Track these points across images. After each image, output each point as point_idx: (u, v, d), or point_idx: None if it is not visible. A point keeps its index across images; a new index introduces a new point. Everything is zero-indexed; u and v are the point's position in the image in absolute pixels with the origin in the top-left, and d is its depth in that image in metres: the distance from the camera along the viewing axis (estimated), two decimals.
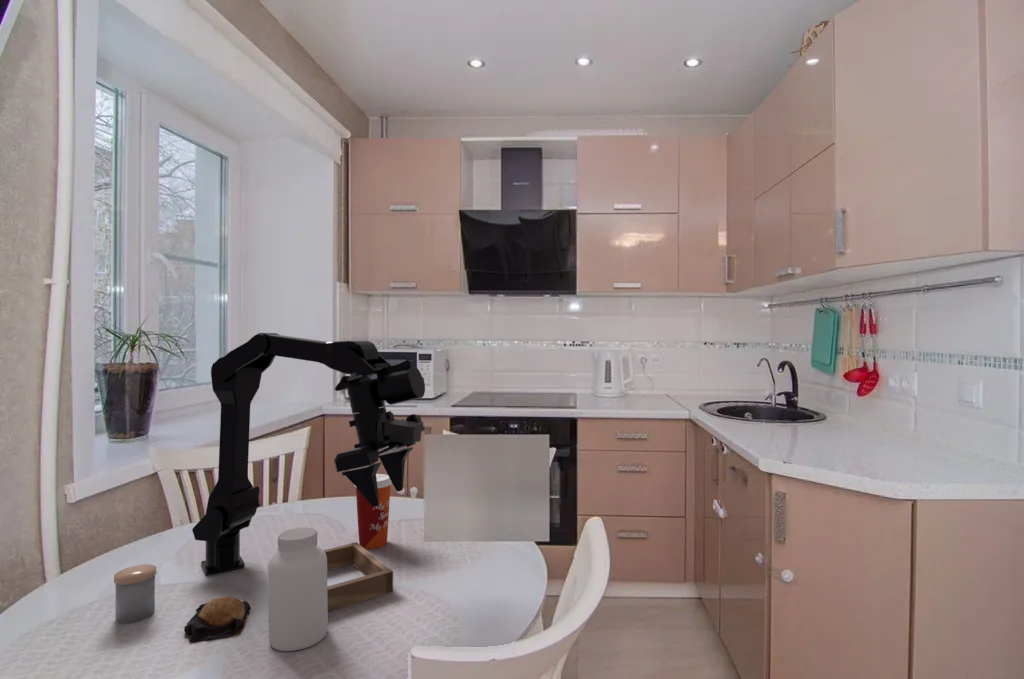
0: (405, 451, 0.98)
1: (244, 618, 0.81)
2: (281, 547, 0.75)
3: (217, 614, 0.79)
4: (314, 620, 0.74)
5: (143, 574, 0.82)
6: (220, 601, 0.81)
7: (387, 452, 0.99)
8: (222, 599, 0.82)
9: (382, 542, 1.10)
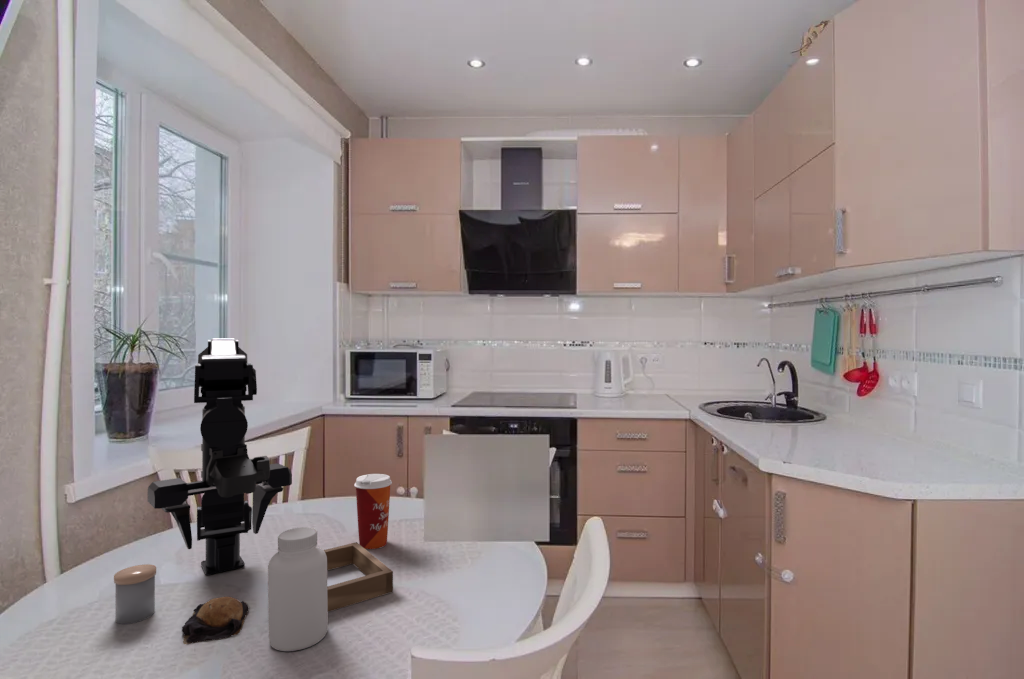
0: (264, 492, 0.83)
1: (242, 618, 0.81)
2: (281, 547, 0.75)
3: (215, 614, 0.79)
4: (314, 620, 0.74)
5: (143, 574, 0.82)
6: (218, 601, 0.81)
7: (258, 485, 0.86)
8: (220, 599, 0.82)
9: (382, 542, 1.10)
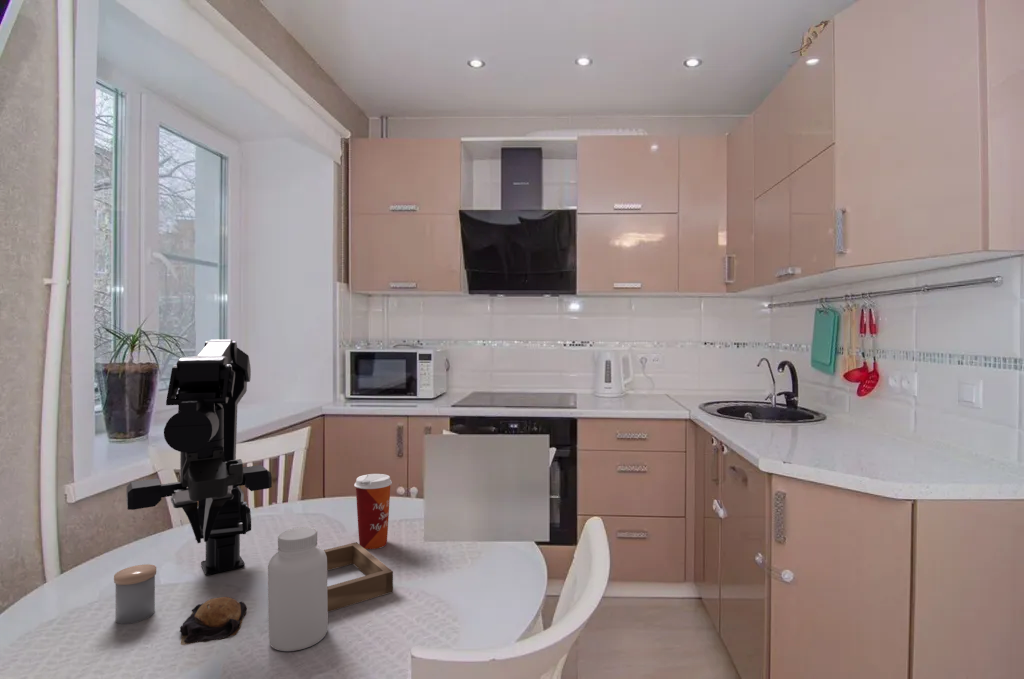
0: (212, 500, 0.80)
1: (240, 619, 0.81)
2: (281, 547, 0.75)
3: (213, 615, 0.79)
4: (314, 620, 0.74)
5: (143, 574, 0.82)
6: (216, 601, 0.81)
7: None
8: (219, 599, 0.82)
9: (382, 542, 1.10)
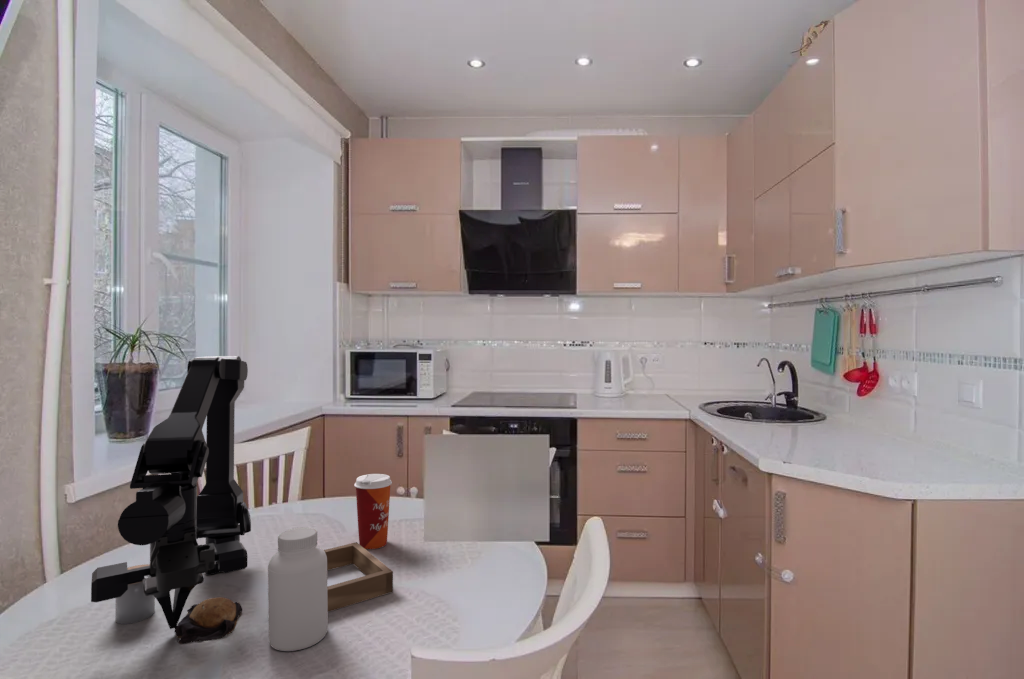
0: None
1: (235, 619, 0.81)
2: (281, 547, 0.75)
3: (208, 615, 0.79)
4: (314, 620, 0.74)
5: None
6: (211, 602, 0.81)
7: None
8: (214, 600, 0.81)
9: (382, 542, 1.10)
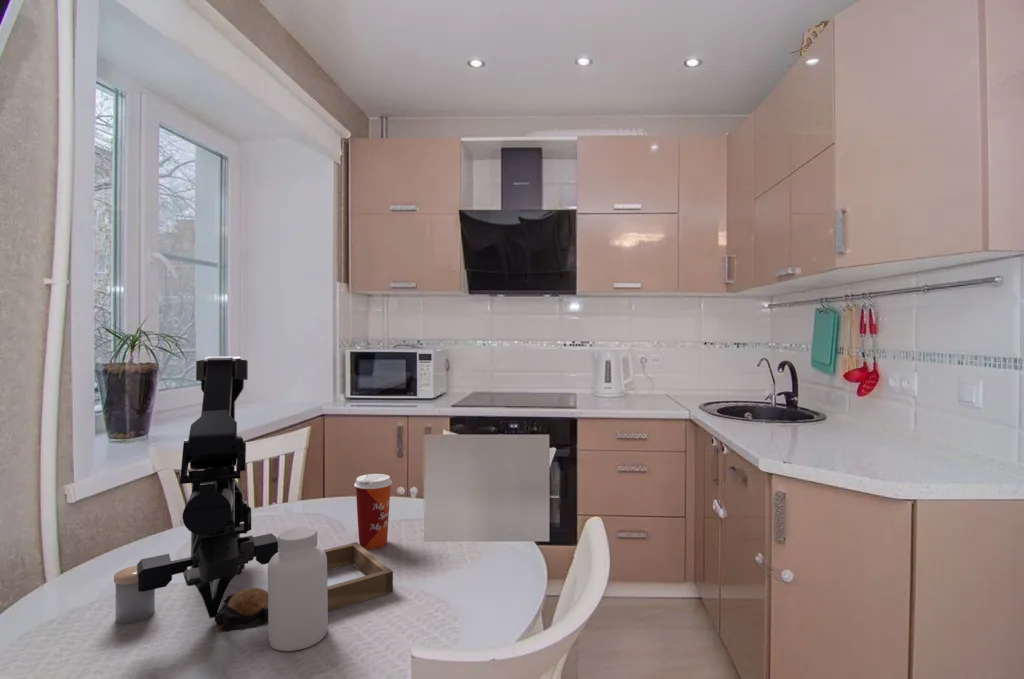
0: None
1: None
2: (281, 547, 0.75)
3: (246, 604, 0.82)
4: (314, 620, 0.74)
5: None
6: (248, 592, 0.84)
7: None
8: (250, 590, 0.85)
9: (382, 542, 1.10)
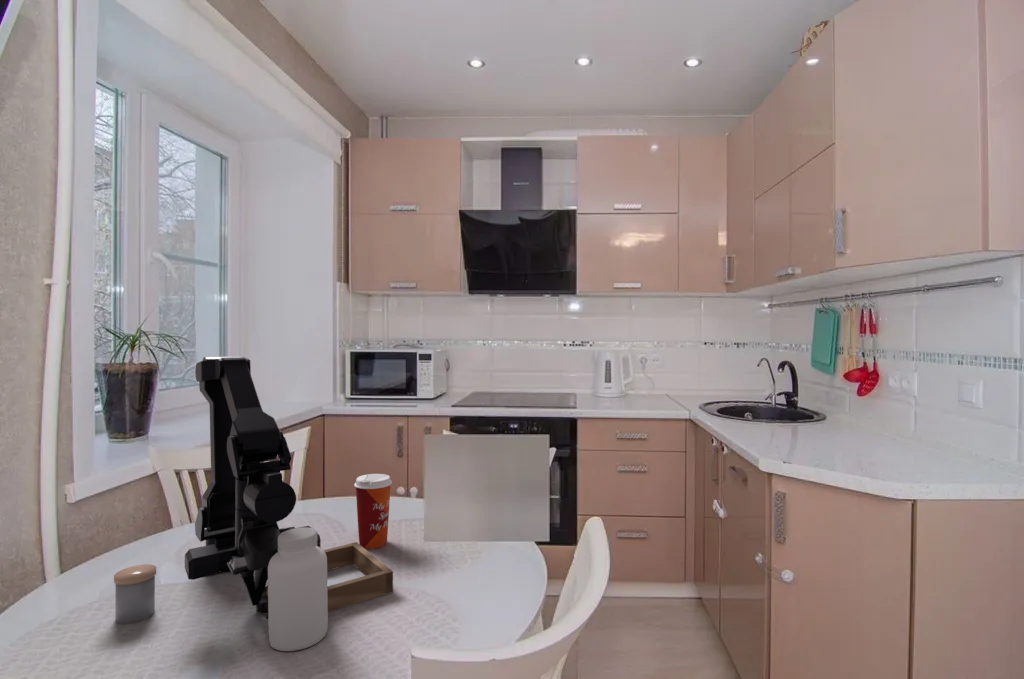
0: None
1: None
2: (281, 547, 0.75)
3: None
4: (314, 620, 0.74)
5: (143, 574, 0.82)
6: None
7: None
8: None
9: (382, 542, 1.10)
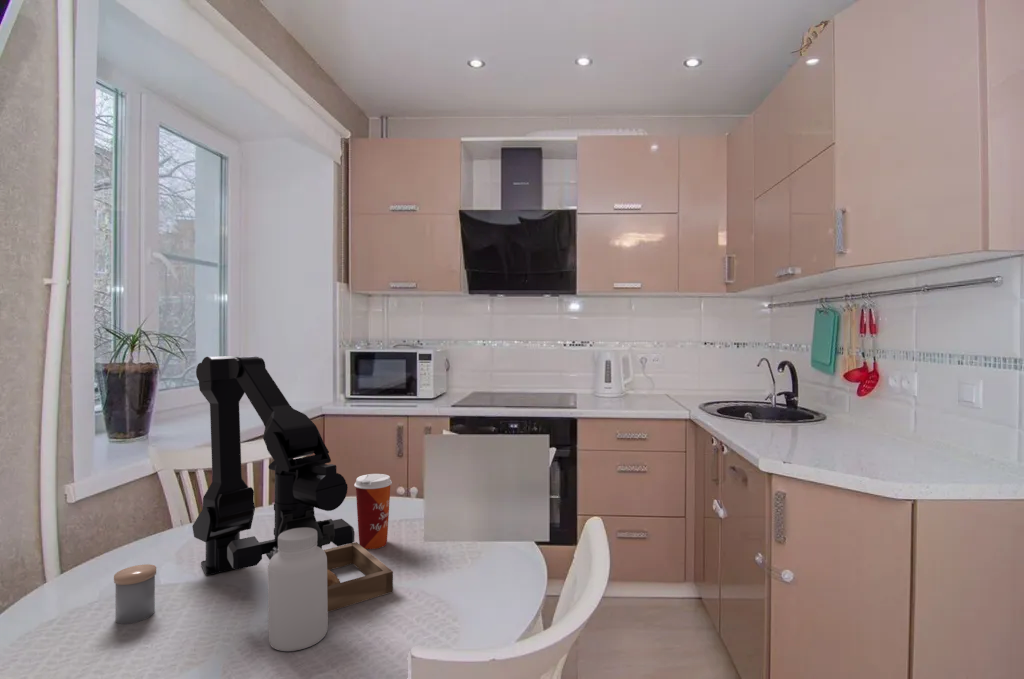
0: None
1: None
2: (281, 547, 0.75)
3: None
4: (314, 620, 0.74)
5: (143, 574, 0.82)
6: None
7: None
8: None
9: (382, 542, 1.10)
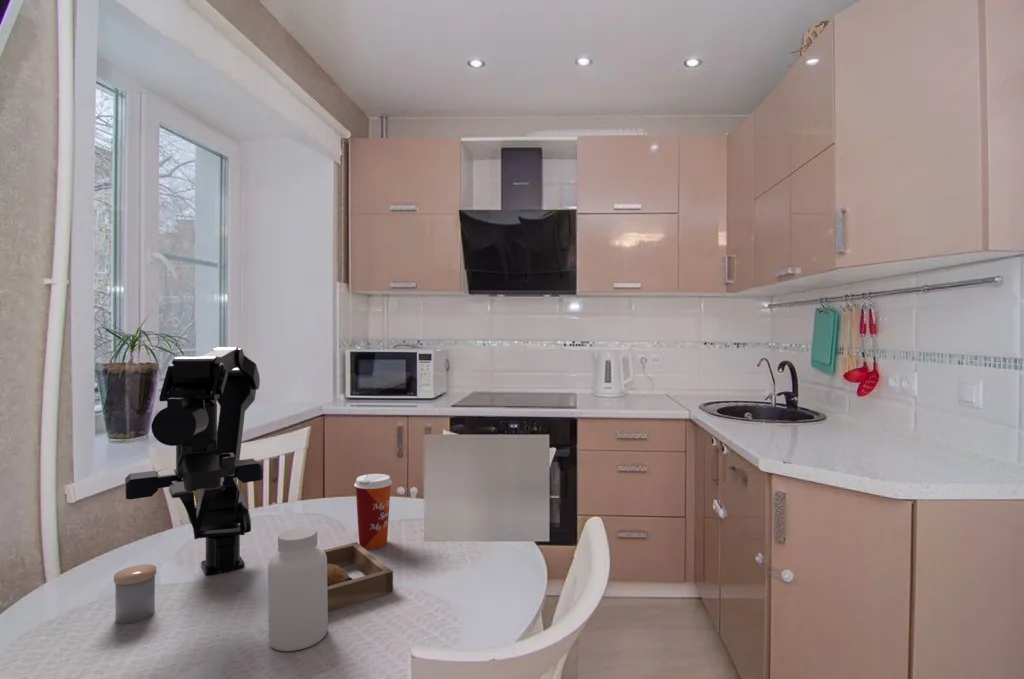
0: (204, 491, 0.85)
1: None
2: (281, 547, 0.75)
3: (334, 576, 0.91)
4: (314, 620, 0.74)
5: (143, 574, 0.82)
6: (328, 567, 0.93)
7: None
8: (328, 565, 0.94)
9: (382, 542, 1.10)
